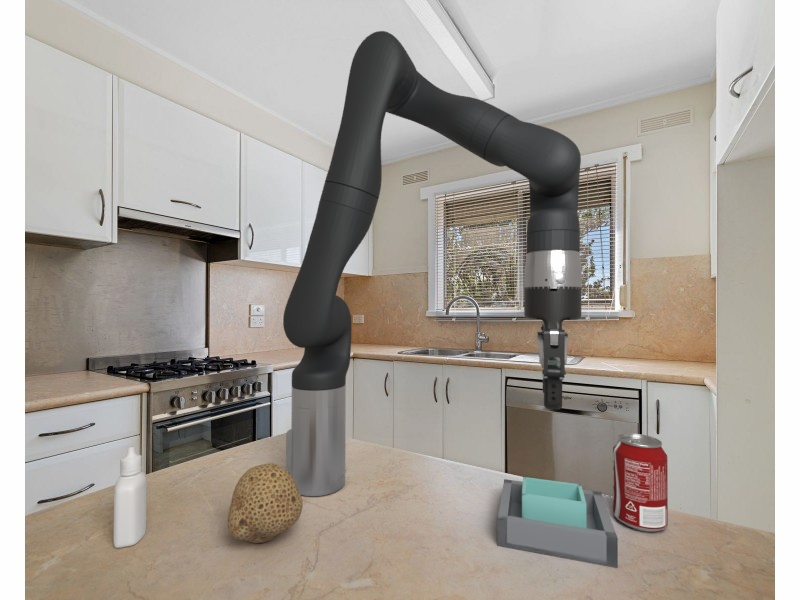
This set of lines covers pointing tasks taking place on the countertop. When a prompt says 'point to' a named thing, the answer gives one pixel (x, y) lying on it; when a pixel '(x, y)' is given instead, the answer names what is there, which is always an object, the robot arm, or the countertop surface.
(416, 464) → the countertop surface
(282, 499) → the natural sponge
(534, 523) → the large crate
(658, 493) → the soda can
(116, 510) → the eye dropper bottle
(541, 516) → the small crate
